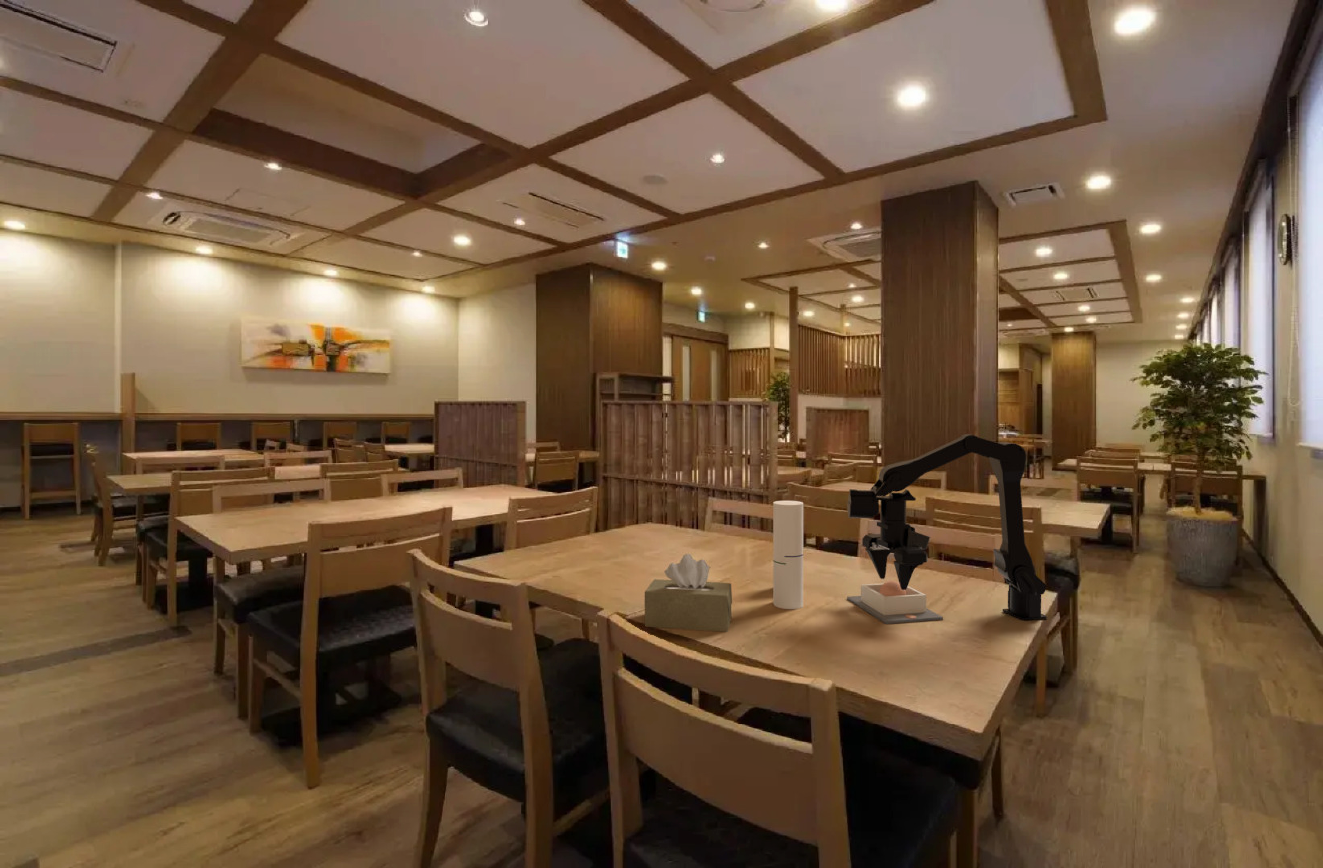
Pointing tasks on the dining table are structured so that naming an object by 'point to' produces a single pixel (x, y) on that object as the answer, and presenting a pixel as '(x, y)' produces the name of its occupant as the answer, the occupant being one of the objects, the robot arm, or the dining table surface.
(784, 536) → the cylindrical container
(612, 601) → the dining table surface
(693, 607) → the tissue box
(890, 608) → the tray on grey plate
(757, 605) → the dining table surface
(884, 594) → the terracotta ball
